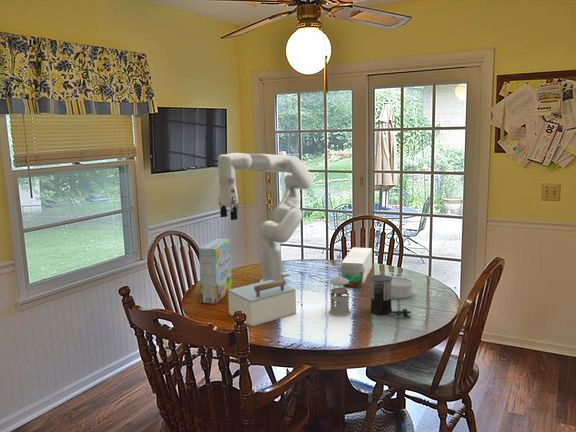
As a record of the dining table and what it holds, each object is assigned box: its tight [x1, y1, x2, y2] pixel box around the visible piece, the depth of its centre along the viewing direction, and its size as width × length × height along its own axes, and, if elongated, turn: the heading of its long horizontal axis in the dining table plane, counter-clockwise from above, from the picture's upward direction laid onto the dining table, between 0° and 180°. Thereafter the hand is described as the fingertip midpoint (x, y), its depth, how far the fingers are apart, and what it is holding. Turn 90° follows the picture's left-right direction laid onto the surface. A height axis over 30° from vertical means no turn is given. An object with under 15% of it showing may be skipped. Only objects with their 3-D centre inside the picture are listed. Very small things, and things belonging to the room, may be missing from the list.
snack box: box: [198, 238, 233, 305], centre depth 238 cm, size 22×9×26 cm, turn 168°
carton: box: [227, 291, 297, 328], centre depth 215 cm, size 22×18×10 cm
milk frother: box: [369, 274, 412, 317], centre depth 211 cm, size 14×16×15 cm
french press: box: [327, 254, 352, 318], centre depth 214 cm, size 10×12×25 cm
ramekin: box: [391, 276, 414, 300], centre depth 234 cm, size 13×13×7 cm
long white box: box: [340, 246, 373, 285], centre depth 267 cm, size 32×11×11 cm, turn 163°
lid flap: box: [228, 278, 296, 302], centre depth 213 cm, size 22×18×5 cm
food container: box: [340, 264, 365, 289], centre depth 247 cm, size 12×6×10 cm, turn 68°
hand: (228, 218), depth 237 cm, fingers open, 9 cm apart
